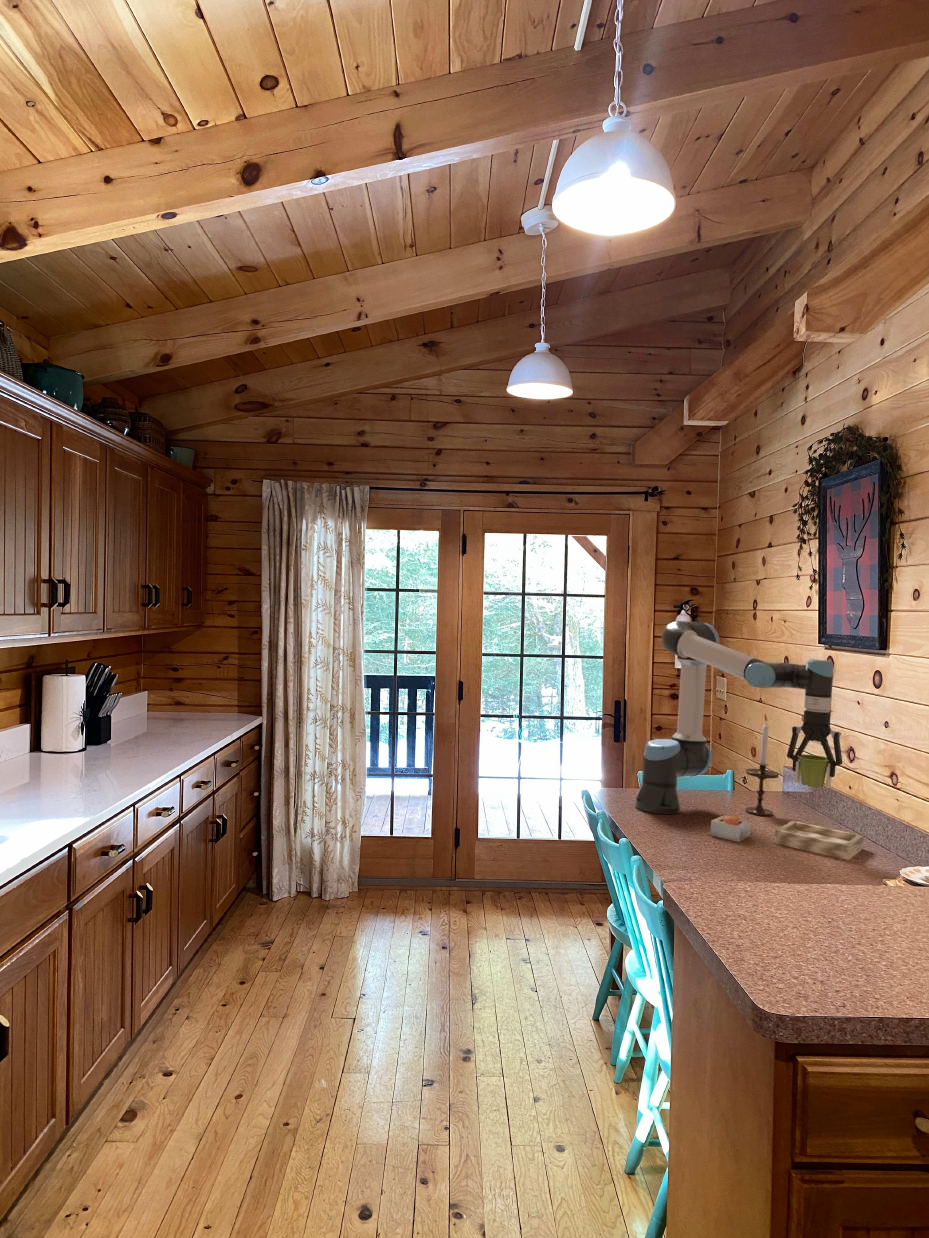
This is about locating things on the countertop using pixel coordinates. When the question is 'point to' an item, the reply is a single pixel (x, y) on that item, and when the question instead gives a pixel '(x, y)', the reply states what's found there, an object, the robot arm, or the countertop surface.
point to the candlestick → (761, 776)
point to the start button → (731, 820)
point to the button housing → (730, 829)
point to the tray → (819, 840)
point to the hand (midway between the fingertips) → (812, 784)
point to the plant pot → (813, 770)
